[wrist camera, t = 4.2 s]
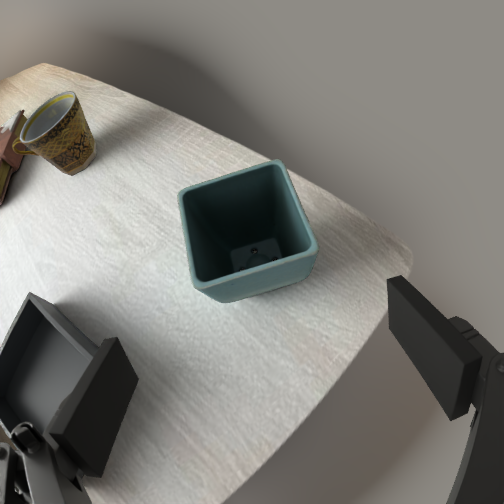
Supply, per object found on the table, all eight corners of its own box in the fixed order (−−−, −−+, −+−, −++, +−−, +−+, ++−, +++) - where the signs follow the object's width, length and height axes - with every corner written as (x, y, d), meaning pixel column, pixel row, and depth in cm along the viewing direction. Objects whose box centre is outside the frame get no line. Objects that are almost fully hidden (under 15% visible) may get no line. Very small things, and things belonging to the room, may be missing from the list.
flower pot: (205, 241, 33) (175, 189, 25) (288, 215, 33) (281, 156, 25) (224, 322, 29) (192, 291, 21) (317, 294, 29) (322, 251, 21)
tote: (138, 380, 28) (114, 375, 24) (77, 485, 23) (52, 490, 19) (52, 303, 33) (29, 291, 29) (4, 398, 28) (-20, 393, 24)
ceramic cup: (107, 126, 45) (79, 81, 36) (106, 167, 41) (70, 118, 32) (45, 159, 45) (13, 122, 36) (38, 203, 41) (-1, 164, 32)
